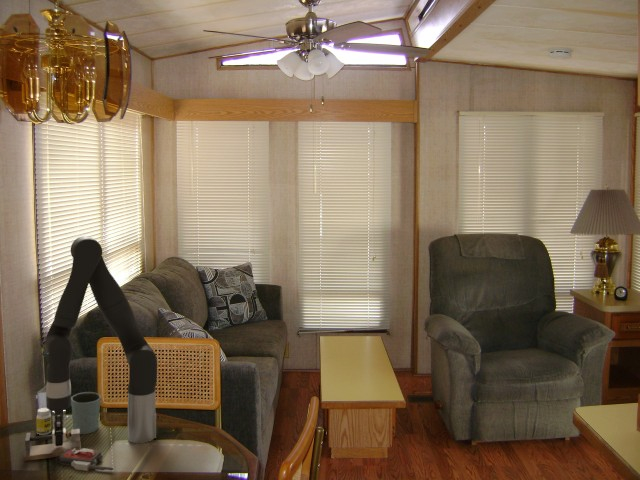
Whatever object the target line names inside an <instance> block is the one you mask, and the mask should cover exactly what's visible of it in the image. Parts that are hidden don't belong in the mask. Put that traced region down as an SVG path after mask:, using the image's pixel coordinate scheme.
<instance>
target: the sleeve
mask: <svg viewBox="0 0 640 480" xmlns="http://www.w3.org/2000/svg"><path fill="white" fill-rule="evenodd" d="M57 432H59V431H57ZM66 432H67V428H65V427H64V428H63V443H65V442H67V437H66ZM54 433H55V429H52V434H51V435H52V439H51V440H52V444H55V435H54Z"/></svg>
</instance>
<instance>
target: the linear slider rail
mask: <svg viewBox="0 0 640 480" xmlns="http://www.w3.org/2000/svg"><path fill="white" fill-rule="evenodd" d="M66 432H67V433H66V440H68V439H70V441H66V442H65V443H63V445H62V446H56V445H55V444H53V443H48V444H39V445H32V444H31V443H32V442H35V441H45V440H52V434H50V435H49V434H46V435H39V436H31V432H26V435H25V439H24V447H25V449H24V455H23V461H24V462H27V461H35V460H41V459H51V458H60V455H61V454H62V453H63V452H64V451H66V450H67V449H74V448H75V449H78V450H81V449H82V447H81V446H82V443H81V441H82V440H81V434H80V429H73V428H72V429H71V431H66Z"/></svg>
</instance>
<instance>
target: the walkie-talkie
mask: <svg viewBox="0 0 640 480" xmlns="http://www.w3.org/2000/svg"><path fill="white" fill-rule="evenodd" d="M102 460H103V455H102V452H101V451H96V450H95V449H92V448H81V450H78V449H75V448H74V449H67V450H66V451H64V452H63V453H62V454H61V455H60V457H58V458H56V459H55V463H57V464H59V465H63V466H64V465H65V466H71V467H73V468H74V469H75V470H76V471H77V470H79V471H85V472H88V471H89V470H100V471H105V470H107V471H113V470H114V467H109V466H103V465H102V466H101V465H97V463H99V462H100V463H101V461H102Z"/></svg>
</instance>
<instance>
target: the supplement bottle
mask: <svg viewBox="0 0 640 480" xmlns="http://www.w3.org/2000/svg"><path fill="white" fill-rule="evenodd" d="M35 419H36V434H37V435H38V434H39V436H47V435H49V434H51V432H52V415H51V410H49V409H47V407H42V408H38V409H37V415H36V418H35Z"/></svg>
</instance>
